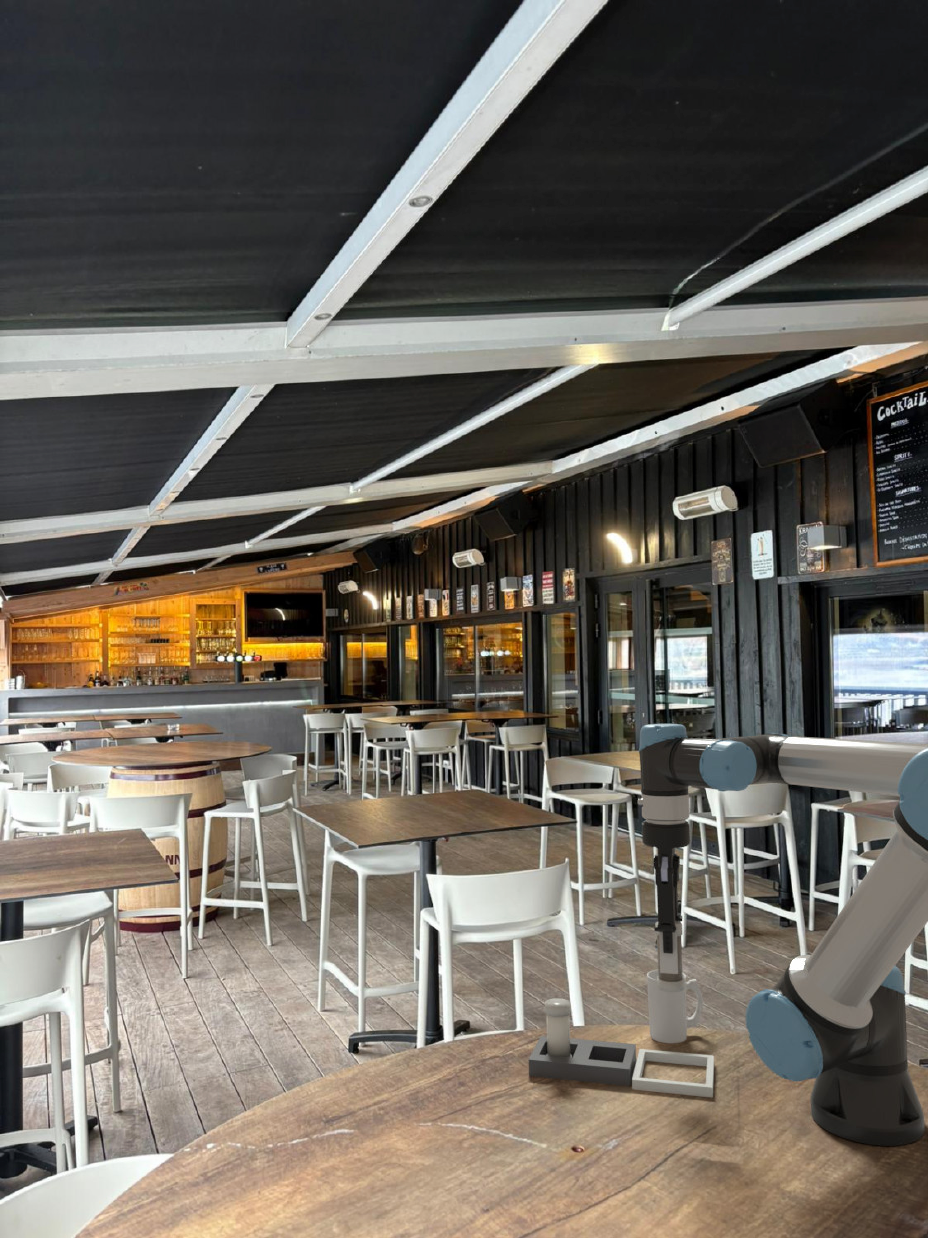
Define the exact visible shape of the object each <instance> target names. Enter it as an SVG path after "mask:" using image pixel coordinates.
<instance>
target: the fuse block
mask: <svg viewBox="0 0 928 1238" xmlns="http://www.w3.org/2000/svg"><path fill="white" fill-rule="evenodd" d="M534 1046H535V1047H534V1048H533V1049H532V1052H531V1054H530V1056H529V1057H528V1076H529V1077H534V1078H535V1077H536V1078H537V1077H538V1078H547V1079H558V1080H564V1081H565V1080H567V1081H575V1082H576V1081H577V1082H586V1083H596V1084H605V1085H606V1084H607V1085H614V1086H615V1085H616V1086H625V1087H630V1086H631V1083H632V1078H633V1074H634V1070H635V1065H636V1061H637V1047H636V1043H627V1042H617V1041H603V1040H594V1039H593V1040H592V1039H582V1038H571V1037H570V1053H571V1055H572V1058H569V1057H559V1056H548V1055H546V1054H547V1035H540V1037H539V1038H538V1041H537V1042H536V1044H535V1045H534Z"/></svg>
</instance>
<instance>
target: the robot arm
mask: <svg viewBox="0 0 928 1238" xmlns="http://www.w3.org/2000/svg"><path fill="white" fill-rule="evenodd" d="M638 753H639V768H640V793H641V795H640V796H641V798H637V799H638V800H637V804H638V805H639V806H642V807H641V817H642V818H643V819H645V820H644V821H642V822H641V832H642V833H641V838H642V839H641V840H642V843H643V845H645V846H647V847H649V848H656V849H657V854H654V857H653V868H654V875H655V876H654V879H655V881H654V883H655V885H656V898H657V901H656V902H657V922H658V927H655V926H654V932H656V931H659V948H660V973H670V974H678V954H677V931H676V926H675V921H677V922H683V915H679V912H680V910H679V902H678V901H679V899H678V898H679V895H678V885H679V880H680V871H679V869H680V864H681V862H680V861H681V857H680V855H678V854H677V852H676V848H677V849H681V848H685V847H688V846H690V843H691V835H690V834H691V831H690V823H689V822H688V821H687V820H688V819H689V818H690V793H689V787H696V788H702V789H708V790H711V789H712V790H717V791H719V792H723V793H725V792H741V791H744V790H745V789H747V788H748V786H749V785H755V784H763V783H764V784H765V783H772V784H780V785H790V786H791V785H796V786H802V787H812V788H822V789H830V790H831V789H832V790H841V791H849V792H857V793H864V794H865V793H866V794H867V793H868V794H876V795H884V796H893V797H899V802H898V803H897V804H896V806H895V807H894V809H893V810H892V818H893V821H894V824H895V826H896V830H895V832H894V833H893V834H892V836H891V837H890V839H889V840H888V842H887V844H886V845H885V847H883V849H882V851H881V852H880V853H879V855H878V856H877V857H876V859H875V861H874V862H873V864H872V865H871V866H870V868H869V869H868V871H867V872H866V874H865V875H864V877H863V878H862V880H861V881H860V882H859V884H858V886H857V887H856V889H855V890H854V892H853V893H852V895H850V897H849V899H848V900H847V902H846V903H845V905H844V906H843V907H842V909H841V910H840V912H839V914H838V915H837V916H836V918H835V919H834V921H833V922H832V924H831V926H830V927H829V928H828V930H827V931H826V932H825V934H824V935H823V937H822V938H821V940H820V941H819V943H818V944H817V946H816V947H815V949H814V950H813V951H812V953H811V954H802V955H798V956H796V957H795V958H794V959H793V960H792V961H791V962H790V963H789V965H788V966H787V968H786V969H785V970H784V972H783V973H782V975H781V976H780V978H779V979H778V980H777V982H776V984H775V985H774V986H772V987H771V988H770V989H762V990H760V991H758V993H757V994H755V995H754V996H753V997H752V998H751V999H750V1000H749V1002H748V1004H747V1006H746V1011H745V1026H746V1030H747V1031H748V1033H749V1036H748V1038H749V1041H750V1044H751V1046H752V1048H753V1049H754V1051H755V1053H756V1055H757V1056H758V1057H759V1059H760V1060H761V1061H762V1063H763V1064H764V1065H765V1066H766V1067H767V1068H768V1069H769V1070H770V1071H771V1072H773V1073H774V1074H775V1075H777V1076H778V1077H779V1078H781V1079H784V1080H789V1081H790V1082H791V1081H792V1082H803V1081H806V1080H812V1079H814V1083H813V1087H812V1090H811V1095H810V1113H811V1117H812V1119H813V1120H814V1121H815V1123H816V1124H818V1125H819V1126H820V1127H822V1129H824V1130H826V1131H827V1132H829V1133H831V1134H833V1135H836V1136H837V1137H839V1138H843V1139H845V1140H849V1141H852V1142H856V1143H861V1144H867V1145H872V1146H884V1147H889V1146H903V1145H907V1144H911V1143H914V1142H916V1141H917V1140H920V1139H921V1138H922V1137H923V1135H924V1134H925V1130H926V1129H925V1114H924V1110H923V1107H922V1104H921V1102H920V1099H919V1096H918V1093H917V1091H916V1089H915V1086H914V1084H913V1080H912V1078H911V1074H910V1073H909V1065H908V1063H909V1062H908V1041H907V1038H908V1036H907V1016H906V1015H907V1014H906V1013H907V1012H906V1011H907V1010H906V995H907V993H906V990H905V988H904V987H905V986H904V985H905V984H904V976H903V973H902V970H901V969H900V968H899V967H898V966H897V964H898V962H899V961H900V960H901V958H902V957H903V955H904V954H905V953H906V952H907V951H908V949H909V948H910V946H911V945H912V943H913V942H914V941H915V939H916V938H917V937H918V935H919V934H920V933H921V931H922V930H923V929H924V927H925V926H926V925H927V923H928V743H914V742H897V741H895V742H894V741H878V740H877V741H875V740H865V739H864V740H860V739H842V738H826V737H809V736H808V737H807V736H790V735H789V734H785V733H773V732H772V733H764V734H760V735H750V736H736V737H724V738H711V739H710V738H693V737H692V738H690V737H689V736H688V735H687V728H686V726H685V725H683V724H681V723H680V724H679V723H678V724H677V723H652V724H651V723H650V724H645V725H643V726H642V727H641V729H640V731H639V748H638Z"/></svg>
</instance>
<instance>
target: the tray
mask: <svg viewBox="0 0 928 1238" xmlns="http://www.w3.org/2000/svg"><path fill="white" fill-rule="evenodd" d="M637 1053H638V1054H637V1056H636V1063H635V1067H634V1071H633V1075H632V1079H631V1083H632V1084H631V1085H632V1086H631V1087H632V1088H631V1089H632V1090H636V1091H644V1092H645V1091H646V1092H655V1093H656V1092H657V1093H664V1094H676V1095H683V1096H695V1097H705V1098H714V1082H715V1081H714V1080H715V1079H714V1078H715V1077H714V1076H715V1056H714V1055H711V1054H701V1053H689V1052H677V1051H670V1050H669V1051H667V1050H657V1049H647V1048H639V1050H638V1052H637ZM646 1062H655V1063H665V1064H666V1063H667V1064H675V1065H676V1064H677V1065H684V1066H685V1065H686V1066H696V1067H697V1066H698V1067H706V1075H705V1078H706V1079H705V1083H698V1082H688V1081H679V1080H678V1081H677V1080H669V1079H668V1080H667V1079H657V1078H647V1077H643V1073H644V1069H645V1064H646Z"/></svg>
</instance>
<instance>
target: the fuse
mask: <svg viewBox="0 0 928 1238" xmlns="http://www.w3.org/2000/svg"><path fill="white" fill-rule="evenodd" d="M544 1014H545V1015H546V1019H545V1021H546V1036H547V1054H546V1055H548V1056H559V1057H569V1058H572V1055H571V1053H570V1038H571V1029H570V1028H571V1025H570V1024H571V1023H570V1019H571V1018H570V1014H571V1001H570V1000H568V999H566V998H558V997H557V998H555V997H554V998H549V999H547V1000H545V1002H544Z"/></svg>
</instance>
